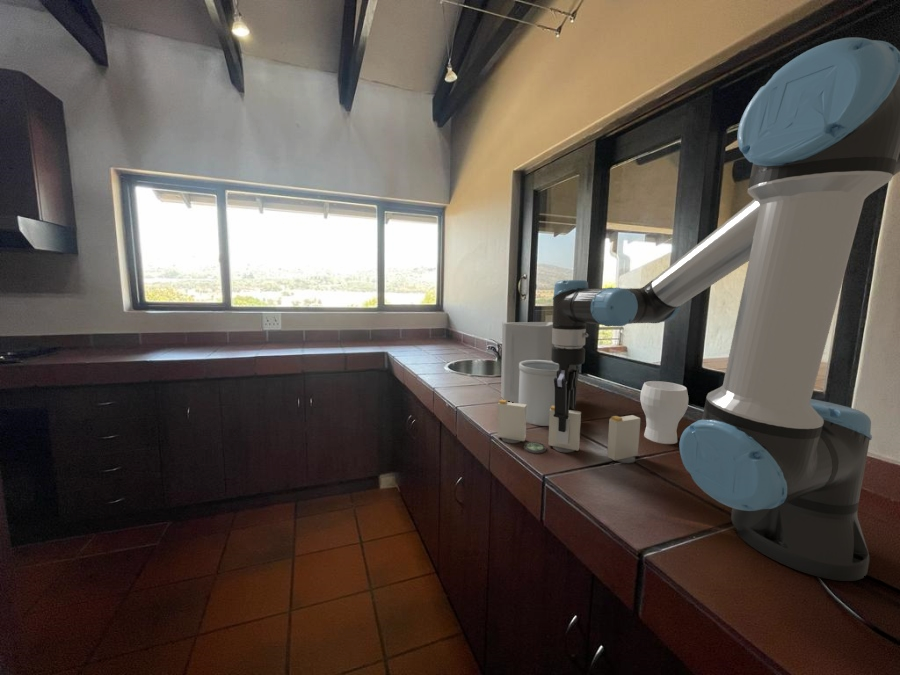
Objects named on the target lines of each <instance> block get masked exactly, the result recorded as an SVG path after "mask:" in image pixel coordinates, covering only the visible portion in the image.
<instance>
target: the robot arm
mask: <svg viewBox="0 0 900 675" xmlns="http://www.w3.org/2000/svg"><path fill="white" fill-rule="evenodd" d="M736 134H737V137H736V138H737V146H738V149H739V151H740V152H741V153H742V154H743V155H742V156H744V158H745V159H746V160H747V161H748V162H749V163H752V166H751V171H750V177H749V181H748V186H747V192H746V193H747V194H748V195H749V196H750V197H751V198H753V199H752V200H751V201H750V202H749V203H747V204H746V205H745V206H744V207H742V208H741V209H740V210H739V211H737V212H736V213H735V214H734V215H733V216H731V217H729V219H727V220H726V221H725V222H723V224H721V225H720V226H718V228H716V229H715V230H713V232H711V233H710V234H709V235H707V236H706V237H705V238H703V239H702V240H701V241H700V242H698V243H697V244H696V245H695V246H693V247H692V248H691V249H690V250H688V251H687V252H686V253H685V254H683V255H682V256H681V257H680V258H678V259H677V260H676V261H675V262H673V263H672V264H671V265H670V266H668V267H667V268H666V269H665V270H663V271H662V272H661V273H660V274H659V275H657V276H656V277H655V278H653V279H652V280H651V281H649V282H648V283H647V284H645V285H644V286H643V287H639V288H635V287H634V288H631V287H630V288H622V287H612V286H610V287H605V288H603V287H601V288H589V282H588V281H587V280H583V279H569V280H568V279H564V280H557V281H556V282H555V283H554V288H553V289H554V290H553V296H552V303H553V304H552V322H553V328H552V344H553V345H554V346H553V347H552V357H551V360H552V361H553V362H554V363H558V364H559V370H557V378H554V386H555V414H554V417H557V440H556V442H557V443H561V444H565V445H568V444H569V423H570V418H569V416H568V415H569V410H573V411H578V410H577V409H576V407H577V393H578V383H579V382H578V380H579V373H580V369H578V368H577V366H578V365H583V364H585V360H586V359H585V358H586V349H585V347H584V346H585V345H586V338H588V337H589V334H588V333H587V330H586V329H587V324H594V325H602V326H605V327H624V326H626V325H629V324H661V323H665V322H669V321H671V320H673V319H674V318H676V316H677V314H678V313H679V311H680V310H681V306H682V305H683V304H685V303H686V302H688V301H690V300H691V299H692V298H694V297H695V296H697V295H698V294H700V293H702V292H703V291H705V290H707V289H709V287H711V286H712V285H715V284H716V283H718V282H719V281H720V280H722V279H723V278H725V277H727V276H728V275H730V274H732V272H734V271H737V269H739V268H740V267H741V266H743V265H744V264H747V263H748V264H747V267H746V268H747V269H746V272H745V273H746V274H745V279H744V283H743V288H742V291H741V292H742V293H741V298H740V301H739V307H738V311H737V317H736V321H735V326H734V330H733V336H732V338H731V343H730V344H731V345H730V349H729V354H728V358H727V363H726V368H725V373H724V376H723V377H724V378H723V384H722V385H721V386H720V387H718V388H716V389H714V390H711V391H710V392H708V393H707V395H706V398H705V403H704V408H703V413H702V418H701V419H698V420H696V421H695V422H693V423H691V424H690V425H689V426H687V427H686V428H685V429H684V430H683V432H682V434H681V435H680V438H679V443H678V444H679V454H680V458H681V462H682V464H683V466H684V468H685V470H686V471H687V472H688V473H689V474H690V475H691V479H692V480H693V482H694V483H695V484H696V485H697V486H698V487H699V489H701V491H702V492H704V493H705V494H707V495H708V497H710V498H712V499H714V500H715V501H716V502H718V503H720V504H722V505H723V506H724V505H725V506H727V507H729V508H732V509H731V516H730V520H731V523H732V525H733V526H734V528H735V529H734V530H733V532H735V533H736V534H737V535H738V537H739V538H740V539H742V540H743V541H744V542H745V543H747V545H749V546H750V547H752V549H754V550H756V551H757V552H759V553H760V554H762V555H764V556H766V557H767V558H769V559H771V560H772V561H776V562H777V563H779V564H782V565H784V566H787V567H788V568H790V569H792V570H793V569H794V570H796V571H798V572H801V573H804V574H808V575H811V576H814V577H818V578H822V579H826V580H827V579H828V580H831V581H837V582H838V581H840V582H853V581H859V580H861V579H864V578H865V577H866V576H867V574H868V571H869V565H870V554H869V550H868V546H867V544H866V540H865V536H864V533H863V530H862V528H861V524H860V521H859V517H858V509H859V503H860V502H859V501H860V497H861V490H862V486H863V481H864V480H863V479H864V473H865V468H866V464H867V457H868V452H869V445H870V441H871V440H872V439H873V436H872V434H871V428H872V420H871V418H870V417H869V416H868V414H866V413H865V412H863V411H860V409H859V410H858V409H856V408H853V407H850V406H844V405H841V404H837V403H833V402H828V401H823V400H818V399H814V398H812V397H813V393H814V390H815V385H816V383H817V382H816V381H817V379H818V378H817V377H818V374H819V371H820V368H821V363H822V359H823V355H824V352H825V348H826V344H827V340H828V337H829V333H830V329H831V326H832V321H833V317H834V315H835V311H836V308H837V303H838V299H839V296H840V293H841V292H840V291H841V289H842V288H841V287H842V285H843V280H844V277H845V273H846V271H847V270H846V269H847V265H848V261H849V258H850V254H851V252H852V251H851V250H852V248H853V243H854V240H855V236H856V232H857V228H858V224H859V222H860V217H861V213H862V209H863V206H864V202H865V200H866V198H868V196H870V195H871V194H873V193H874V192H875V191H878V189H880V188H881V187H883V186H885V185H886V184H887V183H889V182H891V180H892V179H893V177H894V176H896V175H897V174H898V173H900V50H899V49H898V48H897V47H896V46H895V45H893V44H891V43H890V42H887V41H885V40H875V39H873V40H872V39H868V38H865V37H856V36H855V37H844V38H839V39H834V40H833V39H832V40H830V41H827V42H824V43H822V44H820V45H817V46H814V47H812V48H810V49H808V50H806V51H804V52H803V53H801V54H800V55H797V56H795V57H794V58H793V59H792V60H790V61H789V62H787V63H786V64H784V65H783V66H782V67H781V68H780V69H778V70H777V71H776V72H774V74H773V75H772V76H771V78H770V79H769V80H768V81H767V82H766V84H764V85H763V86H761V87H760V88H759V89H758V91H757V92H756V93H755V94H754V95H753V97H752V99H751V100H750V102H748V104H747V106H746V108H745V110H744V112H743V114H742V115H741V118H740V121H739V124H738V129H737V133H736ZM864 576H865V577H864Z"/></svg>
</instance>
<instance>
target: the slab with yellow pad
mask: <svg viewBox="0 0 900 675" xmlns="http://www.w3.org/2000/svg"><path fill="white" fill-rule="evenodd" d="M608 421H609V423H608V436H607V450H606V452H607V453H606V457H607V458H610V460H613V462H614V461H615V462H617V463H618V462H619V463H622V464H632V463H635V462H636V457H637V456H639V444H640V433H641V432H640V430H641V417H639V416H636V415H634V414H631V415H625V416H618V415H613V416H611V417H610V418H609V420H608Z"/></svg>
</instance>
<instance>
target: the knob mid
mask: <svg viewBox="0 0 900 675" xmlns="http://www.w3.org/2000/svg"><path fill="white" fill-rule="evenodd" d="M554 414H555V406H551V409H550V415H549V426H548V440H547V441H548V443H547V445H548V446H551V447H552V449H553V450H554V451H557V452H558V453H564V454H565V453H566V454H570V453H574V452H575V451H576V452H577V451H579V448H580V436H581V420H582V418H581V417H582V411H578V410H577V411H573V410H569V415H568V416H569V418H570V423H569V444H568V445H565V444H561V443H557V442H556V440H557V417H554Z"/></svg>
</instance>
